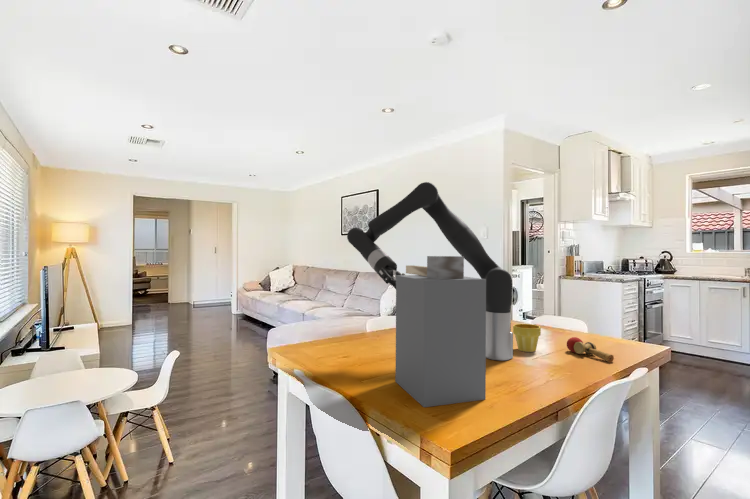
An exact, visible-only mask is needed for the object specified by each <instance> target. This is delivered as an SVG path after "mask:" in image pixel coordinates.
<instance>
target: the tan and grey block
mask: <svg viewBox="0 0 750 499" xmlns="http://www.w3.org/2000/svg"><path fill="white" fill-rule="evenodd" d="M464 264H465V259H464V256H461V255H460V256H457V255H456V256H454V255H449V256H448V255H427V256H426V266H424V265H423V266H422V265H414V264H413V265H407V264H406V265H405V274H408V275H422V276H427V278H433V279H464V277H465V276H464V275H465V272H464V270H465V265H464Z"/></svg>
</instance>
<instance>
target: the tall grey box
mask: <svg viewBox="0 0 750 499" xmlns="http://www.w3.org/2000/svg"><path fill="white" fill-rule="evenodd" d="M486 363H487V358H486V279H481V277H471V276H464V279H433V278H427V276H422V275H415V274H408V275H407V274H405V275H396V289H395V383H396V384H398V385H399V387H400V388H402V389H403V390H404V391H406V393H407V394H409V395H410V396H411V397H412V398H413V400H415V401H416V402H417V403H418V404H420V406H422V408H429V407H436V406H444V405H451V404H452V405H453V404H458V403H459V404H460V403H468V402H469V403H470V402H476V401H477V402H478V401H484V400H486V396H487V394H486V392H487V390H486V389H487V388H486V385H487V384H486V382H487V381H486V379H487V378H486V375H487V374H486V372H487V369H486V368H487V366H486V365H487V364H486Z"/></svg>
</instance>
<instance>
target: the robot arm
mask: <svg viewBox="0 0 750 499" xmlns="http://www.w3.org/2000/svg"><path fill="white" fill-rule="evenodd" d="M420 209H423V211H425V212H426V213H427V214H428V215H429V217H430V218H431V219H433V221H434V222H435V224H436V225H437V227H438V228H439V230H440V231H441V233H442V234H443V236H444V237H445V238H446V240H447V241H448V242H449V244H450V245H451V246H452V247H453V248H454V249H455V250H456V251H457V253H458V254H460V256H464V261H465V260H466V262H468V263H469V265H470V266H472V267H473V269H474V270H475V271H476V273H477V275H479V278H480V279H486V359H489V360H491V361H492V360H493V361H509V360H511V359H513V358H514V333H513V331H511V330H512V329H511V327H512V324H511V323H512V322H511V321H512V315H511V314H512V313H511V312H512V309H511V308H512V305H513V304H512V303H513V278H512V275H511V274H510V272H508V271H507V270H506V269H503V268H501V267H500V266H499V265H498V264H497V263H496V262H495V260H493V258H491V257H490V255H489V254H488V253H487V252H486V250H485V248H484V246H483V245H482V242H481V241H480V239H479V238H478V237H477V235H476V234H475V233H474V232H473V230H472V229H471V227H469V226H468V225H467V223H466V222H465V221H463V220H462V219H461V218H460V217H459V216H458V215H457V214H455V213H454V212H453V211H452V210H451V209H450V208H449V207H448V206H447V204H446V202H444V200H443V198H442V197H441V196H440V194H439V190H438V189H437V187H436V185H435V184H433V183H432V182H430V181H429V182H427V181H425V182H421V183H419V184H417V186H416V187H415V188H414V189H412V191H411V192H409V194H407V195H406V196H405V197H404V198H403V199H401V200H400V201H399V202H397V203H396V204H394V205H393V206H392V207H390V208H388V209H387V210H385V211H383V212H382V213H380V214H379V215H377V216H375V217H374V218H373V219H372V220H370V221H369V222H368V224H367V227H368V229H367V230H366V232H365V231H364V230H363V229H362V228H359V227H352V228H350V229H349V230H348V231H347V235H346V238H347V239H346V240H347V241H348V243H349V244H350V245H351V246H353V248H355V250H356V251H358V253H359V254H360V255H361V256H362V257H363V259H364V260H365V261H366V262H367V263H368V264H369V265H370V267H371V268H372V269H373V270H374V272H375V273H376V274H377V275H378V276H379V277H380V278H381V279H382V280H383V281H384V283H385V284H387V285H388V284H389V285H390V286H392V287H393V288H394V289H395V290H396V275H406V273H403V272H402V273H401V272H400V271H398V264H397V263H396V262H395V261H394V260H393V259H392V258H391V257H390V255H388V254H387V253H386V252H385V251H383V250H382V249H381V247H380V246H379V245H378V244H376V243H375V242H376V241H377V240H378V239H379V238H380V236H382V235H384V234H385V233H387V232H388V231H390V230H391V229H393V228H394V227H396V226H397V225H398V224H399V223H400V222H402V221H403V220H404V219H405V218H407V217H408V216H410V215H411V214H412V213H415V211H418V210H420Z"/></svg>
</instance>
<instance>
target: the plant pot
mask: <svg viewBox="0 0 750 499" xmlns="http://www.w3.org/2000/svg"><path fill="white" fill-rule="evenodd" d="M541 329H542V328H541V326H540V325H537V324H532V323H515V324H513V325H512V333H513V335H514V336H515V340H516V345H517V349H518V351H520V352H524V353H534V352H536V351H537V347H538V342H539V338H540V336H541V333H542V332H541V331H542V330H541Z"/></svg>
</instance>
